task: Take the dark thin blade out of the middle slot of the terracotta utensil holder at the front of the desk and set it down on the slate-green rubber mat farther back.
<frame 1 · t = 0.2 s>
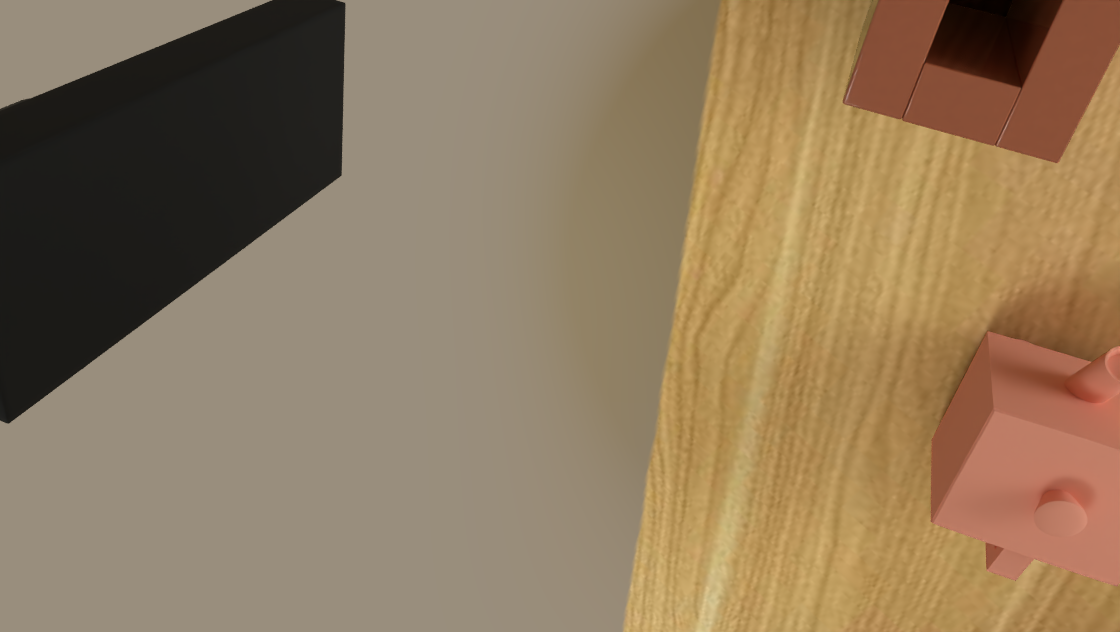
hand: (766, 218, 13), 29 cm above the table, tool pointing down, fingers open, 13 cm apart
pink cube teapot: (1047, 389, 44), on the table
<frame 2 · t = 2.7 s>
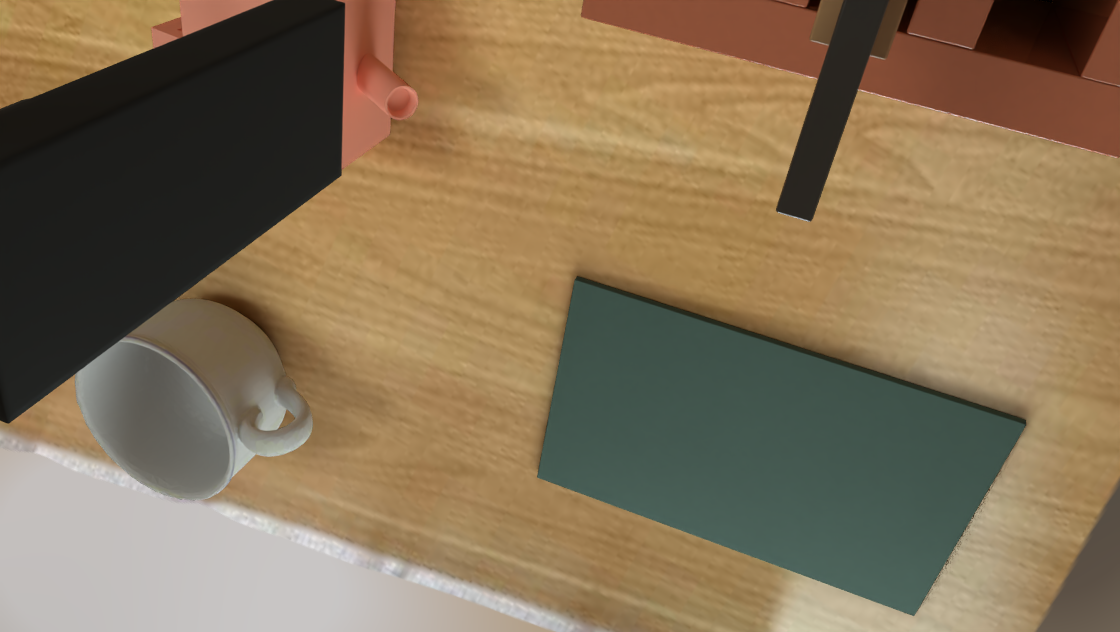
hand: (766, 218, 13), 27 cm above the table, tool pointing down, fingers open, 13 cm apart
pink cube teapot: (353, 35, 44), on the table
mat: (752, 449, 49), on the table
teacup: (260, 356, 58), on the table
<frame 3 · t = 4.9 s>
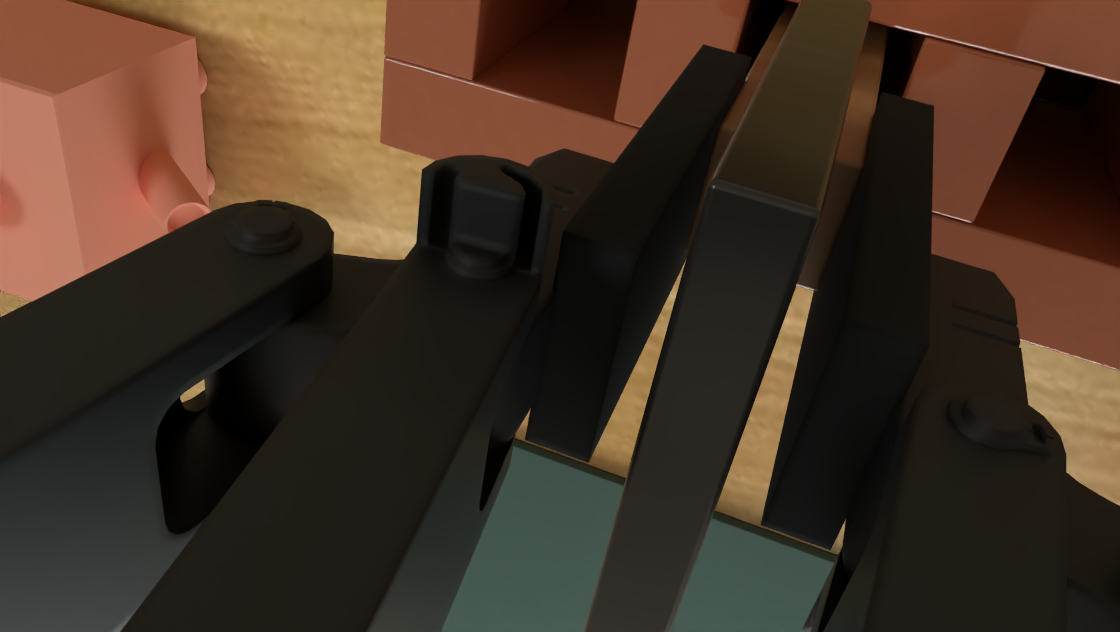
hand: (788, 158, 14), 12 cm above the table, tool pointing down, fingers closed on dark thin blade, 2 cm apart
pink cube teapot: (161, 114, 34), on the table
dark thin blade: (803, 115, 16), in the holder, touching gripper
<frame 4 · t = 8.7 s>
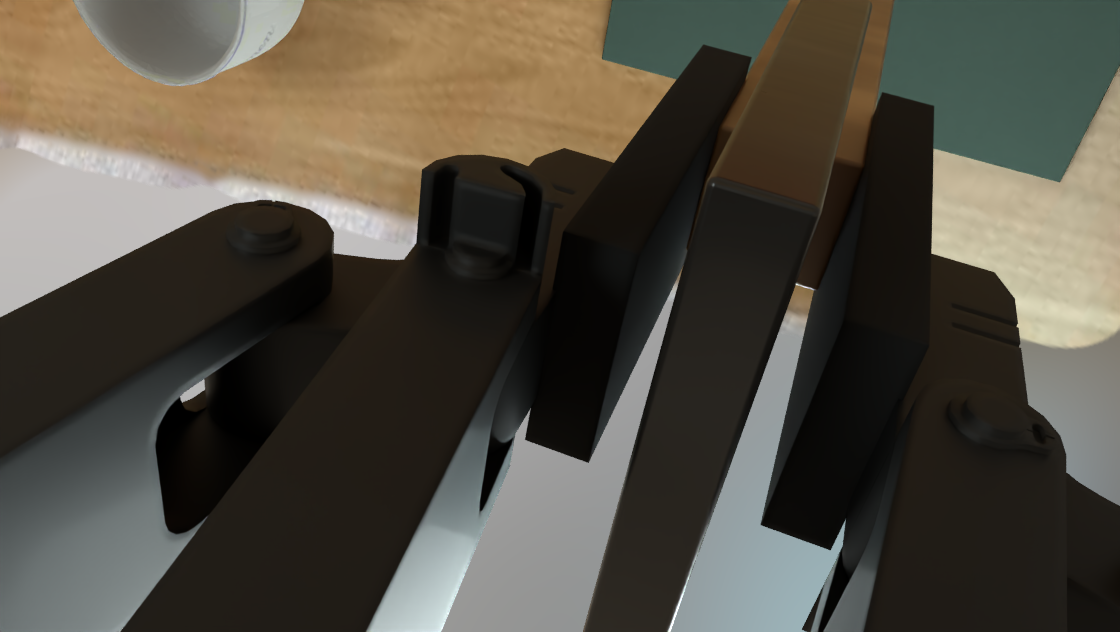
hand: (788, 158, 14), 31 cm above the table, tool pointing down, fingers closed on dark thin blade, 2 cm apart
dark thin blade: (803, 115, 16), point 29 cm above the table, touching gripper
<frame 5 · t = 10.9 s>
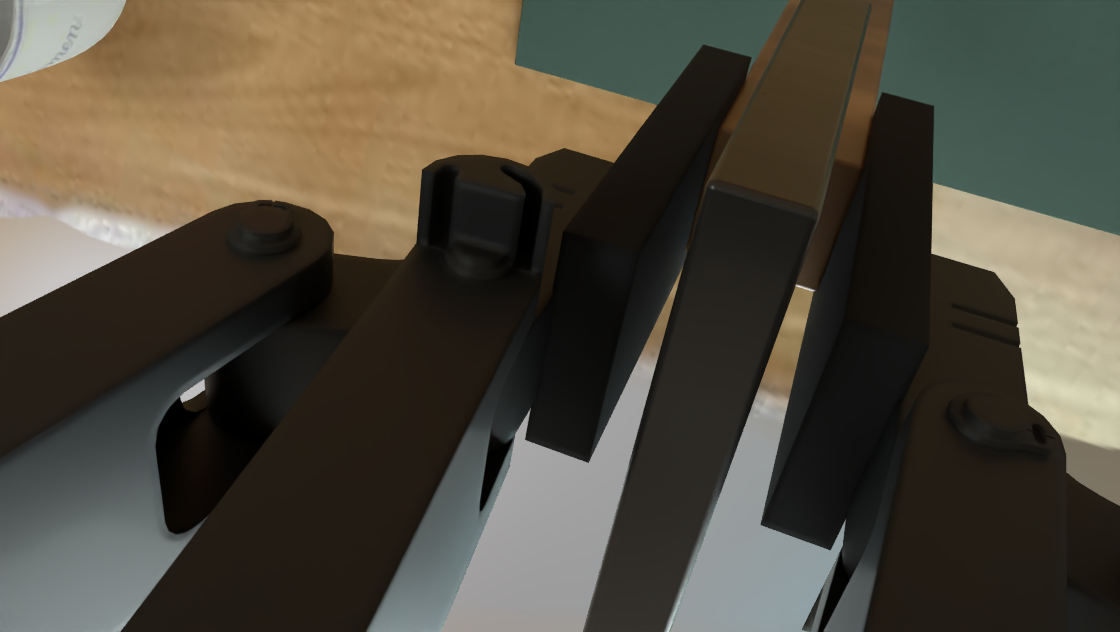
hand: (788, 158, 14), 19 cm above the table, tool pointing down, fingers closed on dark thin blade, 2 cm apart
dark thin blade: (803, 116, 16), point 17 cm above the table, touching gripper
when the fingers open (12 cm above the table, at t = 12.4 s): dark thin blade stays where it is, resting on mat.
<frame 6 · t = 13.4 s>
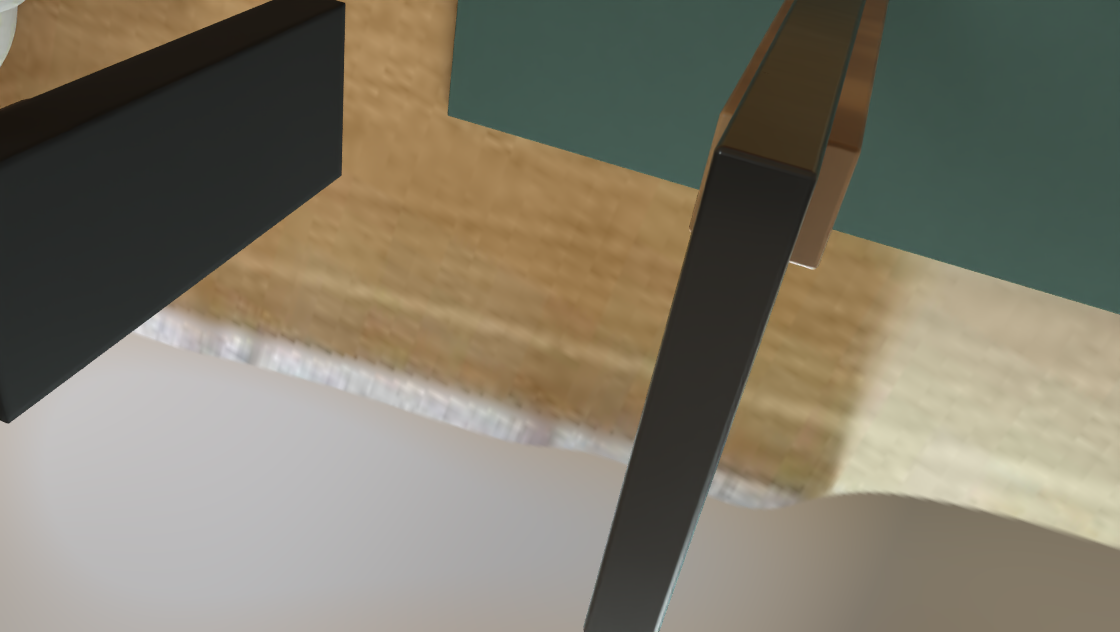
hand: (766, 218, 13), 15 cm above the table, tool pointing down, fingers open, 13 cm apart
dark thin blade: (802, 104, 17), on the mat
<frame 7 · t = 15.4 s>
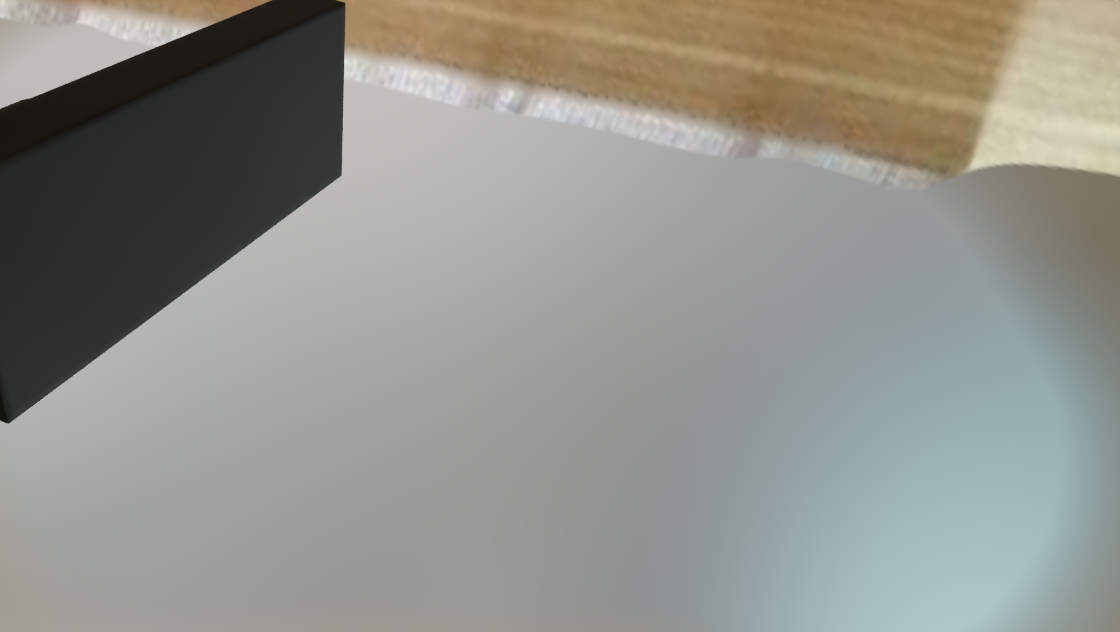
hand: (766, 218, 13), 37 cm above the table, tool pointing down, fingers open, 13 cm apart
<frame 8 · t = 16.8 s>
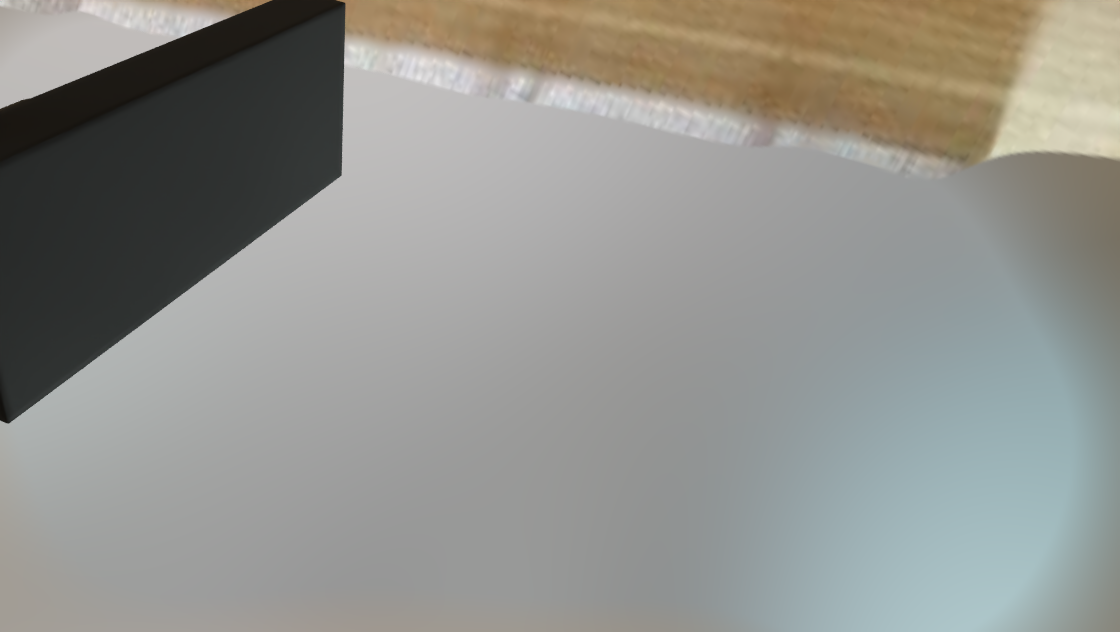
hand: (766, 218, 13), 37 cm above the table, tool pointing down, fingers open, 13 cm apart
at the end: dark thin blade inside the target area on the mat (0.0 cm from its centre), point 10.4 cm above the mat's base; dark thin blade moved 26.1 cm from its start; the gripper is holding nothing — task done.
